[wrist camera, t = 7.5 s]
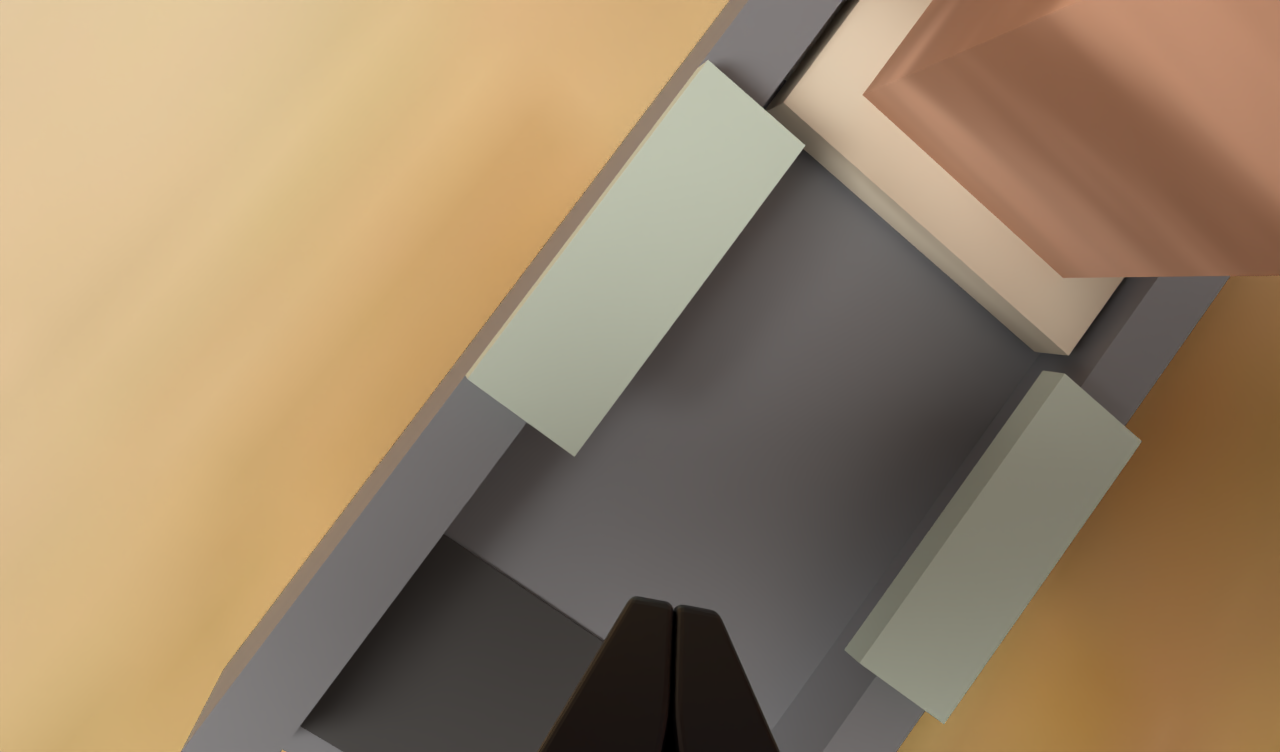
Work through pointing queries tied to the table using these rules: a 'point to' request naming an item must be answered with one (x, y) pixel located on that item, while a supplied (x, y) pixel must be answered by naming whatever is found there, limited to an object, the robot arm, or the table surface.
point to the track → (708, 456)
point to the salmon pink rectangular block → (1054, 142)
